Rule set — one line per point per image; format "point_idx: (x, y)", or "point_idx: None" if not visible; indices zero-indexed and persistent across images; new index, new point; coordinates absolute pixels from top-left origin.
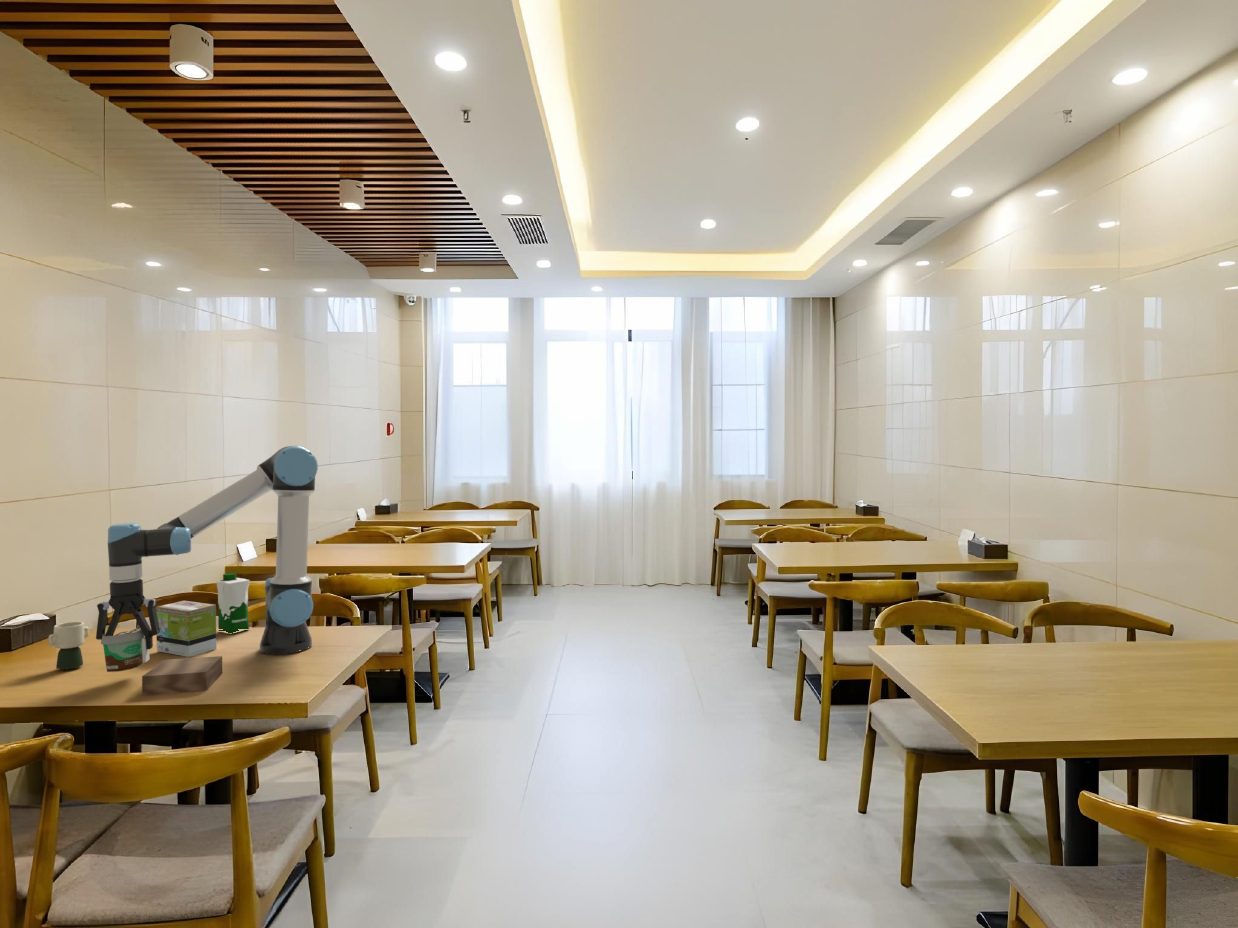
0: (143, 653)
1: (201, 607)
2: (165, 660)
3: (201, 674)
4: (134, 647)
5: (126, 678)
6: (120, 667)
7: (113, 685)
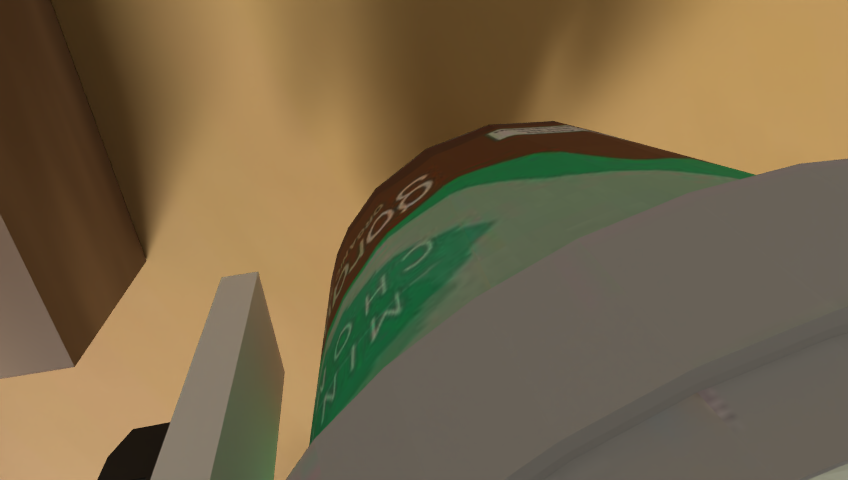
0: (227, 343)
1: None
2: (21, 347)
3: None
4: (341, 377)
5: None
6: (464, 144)
7: (485, 86)
